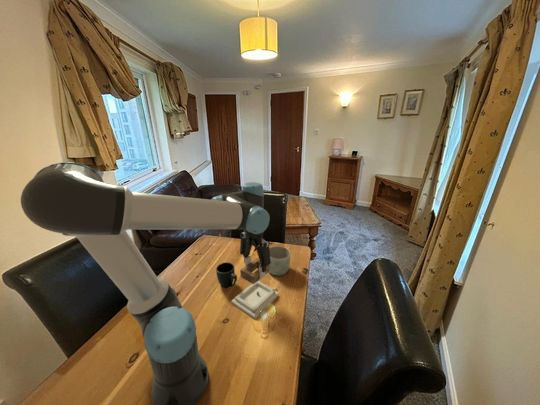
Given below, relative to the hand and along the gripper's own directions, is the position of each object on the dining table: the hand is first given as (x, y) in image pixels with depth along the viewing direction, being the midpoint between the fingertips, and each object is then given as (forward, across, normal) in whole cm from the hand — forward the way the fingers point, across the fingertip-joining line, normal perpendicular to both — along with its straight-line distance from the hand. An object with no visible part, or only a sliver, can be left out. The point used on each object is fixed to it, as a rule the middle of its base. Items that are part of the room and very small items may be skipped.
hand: (255, 273), depth 89 cm
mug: (+13, +15, +2) cm, 20 cm away
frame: (0, 0, 0) cm, 0 cm away
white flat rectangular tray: (+13, 0, 0) cm, 13 cm away
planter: (+13, +4, -22) cm, 26 cm away
